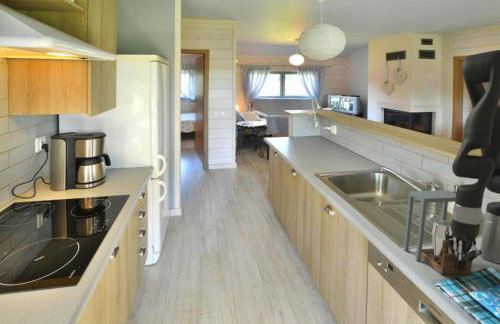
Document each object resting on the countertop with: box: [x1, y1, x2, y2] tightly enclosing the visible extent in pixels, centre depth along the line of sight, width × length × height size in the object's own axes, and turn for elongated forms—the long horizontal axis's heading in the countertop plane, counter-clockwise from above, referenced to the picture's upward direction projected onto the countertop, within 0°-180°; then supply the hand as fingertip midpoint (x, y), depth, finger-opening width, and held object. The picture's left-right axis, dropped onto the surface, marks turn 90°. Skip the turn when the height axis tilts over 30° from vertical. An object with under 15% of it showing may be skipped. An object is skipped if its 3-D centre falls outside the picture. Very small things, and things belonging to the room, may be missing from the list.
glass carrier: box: [421, 247, 473, 276], centre depth 117 cm, size 15×10×7 cm
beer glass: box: [430, 219, 452, 261], centre depth 118 cm, size 7×7×15 cm
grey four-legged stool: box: [403, 189, 456, 262], centre depth 123 cm, size 9×15×24 cm, turn 96°
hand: (459, 269), depth 108 cm, fingers closed
